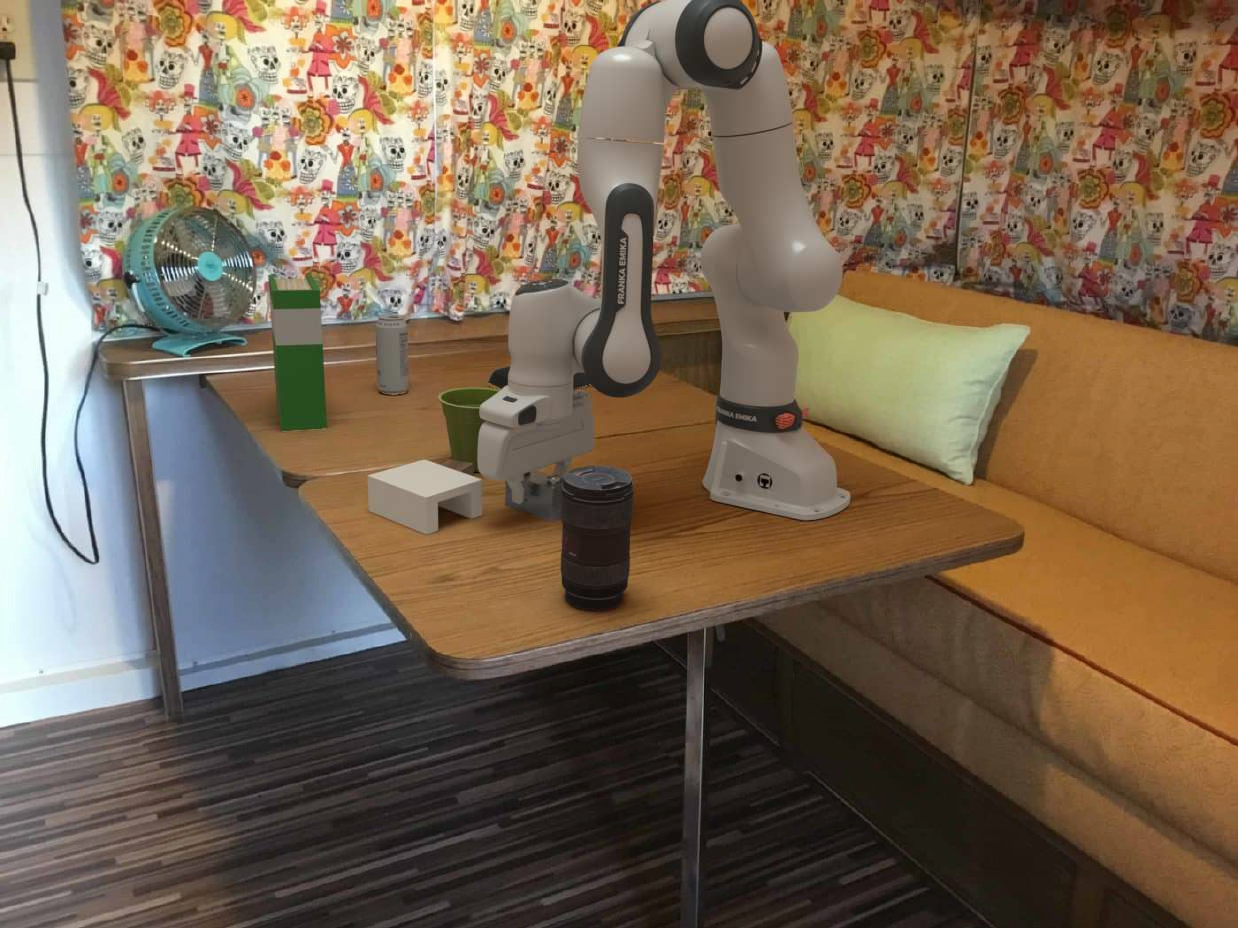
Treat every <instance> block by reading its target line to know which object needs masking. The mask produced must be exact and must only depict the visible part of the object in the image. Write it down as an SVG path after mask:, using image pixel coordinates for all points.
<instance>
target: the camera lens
mask: <svg viewBox="0 0 1238 928" xmlns="http://www.w3.org/2000/svg"><path fill="white" fill-rule="evenodd" d="M561 487H562V488H561V519H560V520H561V523H562V524H561V525H562V526H561V528H562V529H561V531H562V533H561V553H560V575H561V586H562V587H563V589H564V596H565V597H564V598H565V600H566V601H567V603H568V604H570V605H571V606H573V607H575V608H579V609H582V610H587V611H606V610H611V609H613V608H616V607H618V606H620V605H621V604H622V602H623V601H624V593H625V591H626V590H627V588H628V584H629V582H628V581H629V576H630V567H631V566H630V564H631V554H630V552H631V551H630V550H631V549H630V548H631V532H632V531H631V526H632V523H633V517H634V516H633V514H634V511H633V510H634V494H635V493H634V492H635V489H634V484H633V478H632V475H631V474H630V473H629V472H627V471H625V470H624V469H622V468H618V467H614V466H607V465H587V466H586V465H585V466H579V467H575V468H573V469H571V470H568V472H567V473H565V475H564V478H563V483H562V486H561Z"/></svg>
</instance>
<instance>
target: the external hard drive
mask: <svg viewBox="0 0 1238 928" xmlns="http://www.w3.org/2000/svg"><path fill="white" fill-rule="evenodd" d="M510 367H511V365H508V366H505V367H499V368H497V369H496V368H495V369H494V370H492V371H491V374H490V376H489V378H488V381H487V384H488V383H491V384H492V385H495V386H497V387H499V388H501V389H503V388H504V387H505V386H507V385H508V373H509V370H510ZM589 384H590V382H589V381H588V379H587V377H586V374H585V373H584V372H579V373H576V374H574V376H573V390H576V389H575V388H577V387H578V389H580V388H579V387H582V386H585V385H589Z"/></svg>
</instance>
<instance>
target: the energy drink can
mask: <svg viewBox="0 0 1238 928" xmlns="http://www.w3.org/2000/svg"><path fill="white" fill-rule="evenodd" d="M405 320H406V319H405V315H403V314H397V313H396V314H394V313H391V314H380V315H378V320H377V321H376V323H375V325H374V328H375V350H376V375H377V376H376V377H377V378H376V379H377V383H376V384H377V389H378V390H379V391H380V393H381V392H384V393H391V394H392V393H394V394H395V393H402V392H405V391H406V392H407V390H408V389H409V388H410V381H409V378H410V377H409V372H410V371H409V345H408V343H409V341H408V339H409V337H408V332H409V331H408V324H407V322H406V321H405Z"/></svg>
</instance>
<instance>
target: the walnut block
mask: <svg viewBox="0 0 1238 928" xmlns="http://www.w3.org/2000/svg"><path fill="white" fill-rule="evenodd" d="M440 465H442V466H445V467H448V468H450V469H453V470H456V471H459V472H462V473H465V474H468V475H471V476H473V477H474V472H473V463H468V462H462V461H456V460H452V459H448V460H446V461H444V462H442V463H441V464H440Z"/></svg>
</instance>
